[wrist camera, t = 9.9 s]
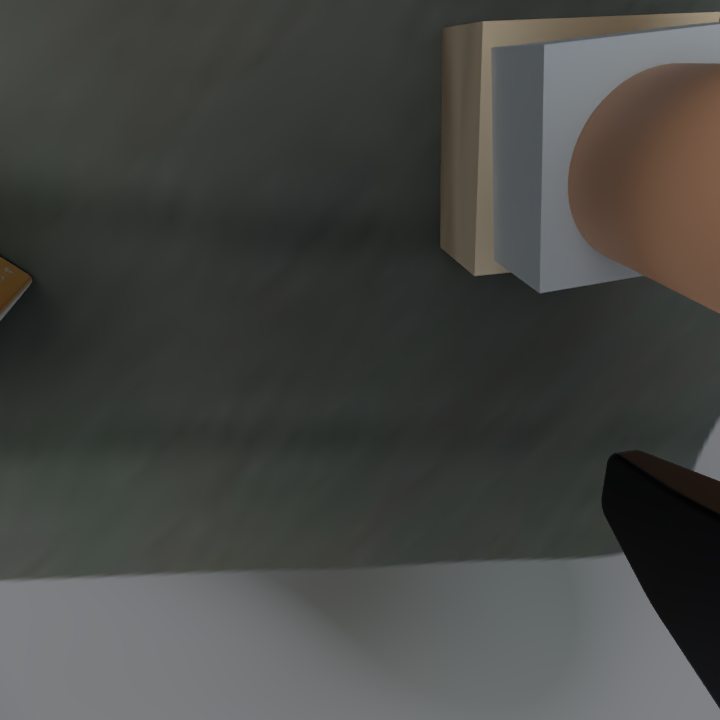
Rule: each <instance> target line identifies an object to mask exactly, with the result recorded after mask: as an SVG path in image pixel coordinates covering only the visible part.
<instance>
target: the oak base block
mask: <svg viewBox="0 0 720 720" xmlns="http://www.w3.org/2000/svg"><path fill="white" fill-rule="evenodd" d="M719 18H720V12H703V13H678V14H653V15H628V16H603V17H578V18H553V19H528V20H503V21H482V22H476V23H469V24H463V25H457V26H451V27H445V28H442V110H441V221H440V247H441V248H442V249H443V250H444V251H445V252H446V253H448V254H449V255H450V256H451V257H452V258H454V259H455V260H456V261H457V262H458V263H459V264H461V265H462V266H463V267H464V268H465V269H467V270H468V271H469V272H470V273H471V274H473V275H474V276H481V275H490V274H500V273H509V272H510V271H508V270H507V269H505V268H504V267H503V266H501V265H500V264H499V263H497V262H496V261H494V228H493V154H492V79H491V48H493V47H501V46H510V45H518V44H527V43H535V42H544V41H552V40H561V39H570V38H578V37H587V36H595V35H604V34H612V33H621V32H629V31H638V30H646V29H655V28H664V27H672V26H681V25H689V24H700V23H712V22H719Z"/></svg>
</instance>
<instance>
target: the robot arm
mask: <svg viewBox="0 0 720 720" xmlns="http://www.w3.org/2000/svg"><path fill="white" fill-rule="evenodd" d="M602 509H603V512H604V515H605V517H606V519H607V521H608V523H609V525H610V527H611V529H612V531H613V533H614V535H615V537H616V538H617V540H618V542H619V544H620V546H621V548H622V550H623V552H624V554H625V556H626V558H627V560H628V561H629V563H630V565H631V567H632V569H633V571H634V573H635V575H636V577H637V578H638V581H639V582H640V584H641V586H642V588H643V590H644V592H645V593H646V595H647V597H648V599H649V601H650V603H651V604H652V606H653V607H654V609H655V611H656V612H657V614H658V615H659V617H660V619H661V620H662V622H663V623H664V625H665V626H666V628H667V629H668V630H669V632H670V634H671V635H672V637H673V638H674V640H675V641H676V643H677V645H678V646H679V648H680V649H681V651H682V652H683V653H684V655H685V656H686V658H687V660H688V661H689V663H690V664H691V666H692V667H693V669H694V670H695V672H696V673H697V675H698V676H699V678H700V679H701V681H702V682H703V684H704V685H705V687H706V689H707V690H708V691H709V693H710V695H711V696H712V698H713V699H714V701H715V702H716V704H717V705H718V707H719V708H720V481H717V480H715V479H712V478H710V477H707V476H704V475H702V474H699V473H697V472H694V471H691V470H689V469H686V468H684V467H681V466H679V465H676V464H673V463H671V462H668V461H666V460H663V459H660V458H658V457H655V456H653V455H650V454H647V453H645V452H642V451H638V450H633V451H626V452H618V453H614V454H612V455H611V456H610V457H609V459H608V462H607V467H606V474H605V480H604V486H603V492H602Z"/></svg>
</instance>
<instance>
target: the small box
mask: <svg viewBox="0 0 720 720" xmlns="http://www.w3.org/2000/svg"><path fill="white" fill-rule="evenodd" d="M31 283H32V278H31V277H30V276H29V275H28V274H27V273H25V272H24V271H22V270H21V269H19V268H17V267H16V266H14V265H13V264H11V263H10V262H8V261H6V260H5V259H3V258H2V257H0V321H1V320H2V318H3V317H4V316H5V315H6V314H7V312H8V311H9V310H10V309H11V308H12V306H13V305H14V304H15V303H16V302H17V300H18V299H19V298H20V297H21V295H22V294H23V293H24V292H25V291H26V289H27V288H28V287H29V286H30V284H31Z"/></svg>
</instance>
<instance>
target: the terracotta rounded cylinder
mask: <svg viewBox="0 0 720 720" xmlns="http://www.w3.org/2000/svg"><path fill="white" fill-rule="evenodd" d="M568 196H569V205H570V209H571V213H572V216H573V219H574V221H575V224H576V226H577V228H578V230H579V231H580V233H581V235H582V236H583V237H584V239H585V240H586V241H587V242H588V243H589V244H590V245H591V246H592V247H593V248H594V249H595V250H596V251H598V252H600V253H601V254H603V255H604V256H606V257H608V258H610V259H612V260H614V261H616V262H618V263H620V264H622V265H624V266H626V267H628V268H630V269H632V270H634V271H636V272H638V273H640V274H642V275H644V276H646V277H648V278H650V279H652V280H654V281H656V282H658V283H660V284H662V285H664V286H666V287H668V288H670V289H672V290H674V291H676V292H678V293H679V294H681V295H683V296H685V297H687V298H689V299H691V300H693V301H695V302H697V303H699V304H701V305H703V306H705V307H707V308H709V309H711V310H713V311H715V312H717V313H719V314H720V63H670V64H664V65H659V66H655V67H652V68H649V69H646V70H644V71H642V72H640V73H637V74H635V75H634V76H632V77H630V78H629V79H627V80H626V81H624V82H623V83H621V84H620V85H619V86H618V87H616V88H615V89H614V90H613V91H612V92H611V93H610V94H609V95H608V96H607V97H606V98H605V99H604V100H603V101H602V102H601V103H600V104H599V105H598V107H597V108H596V109H595V110H594V112H593V113H592V115H591V116H590V118H589V119H588V121H587V122H586V124H585V126H584V128H583V130H582V132H581V134H580V136H579V138H578V140H577V143H576V146H575V148H574V151H573V155H572V159H571V163H570V168H569V176H568Z"/></svg>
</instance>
